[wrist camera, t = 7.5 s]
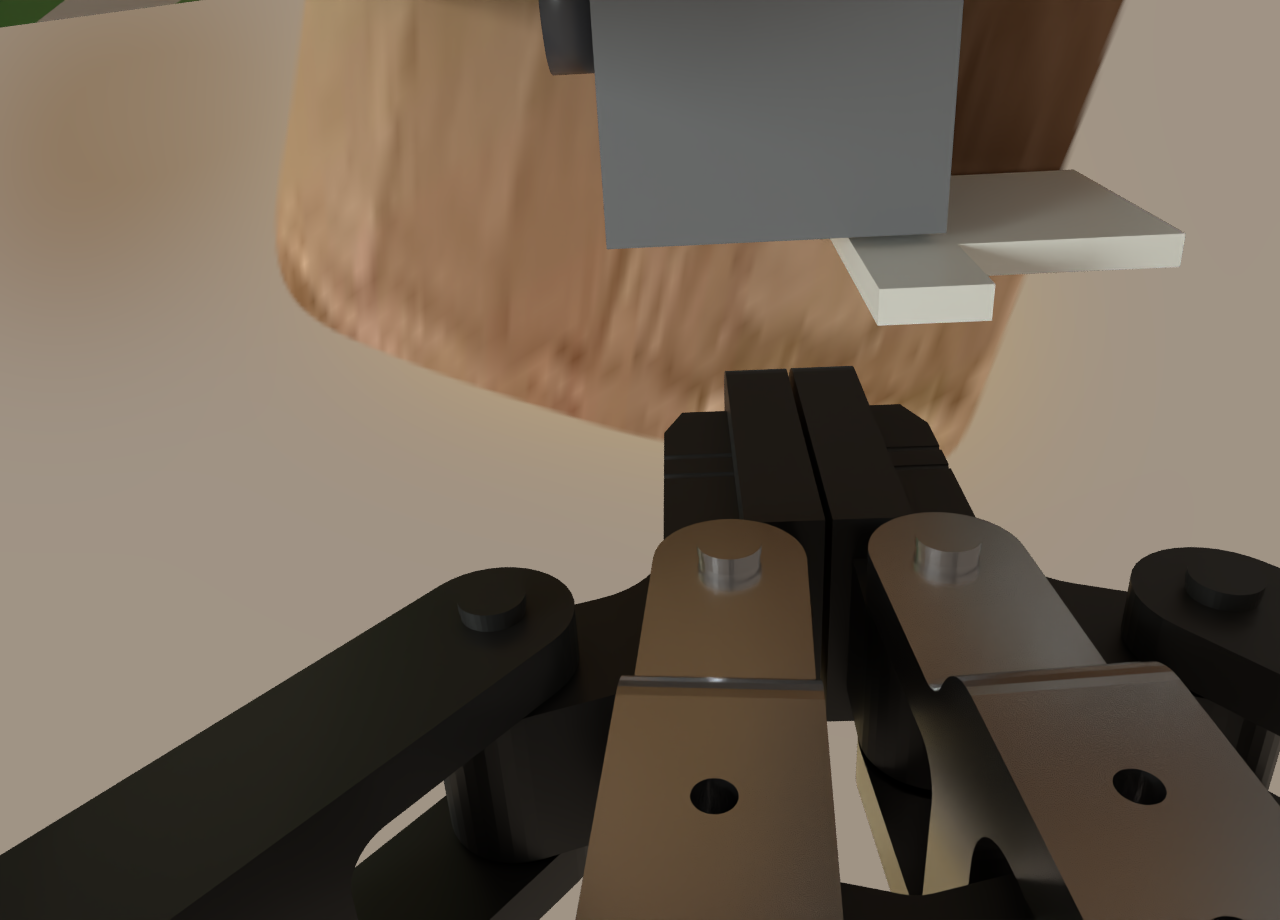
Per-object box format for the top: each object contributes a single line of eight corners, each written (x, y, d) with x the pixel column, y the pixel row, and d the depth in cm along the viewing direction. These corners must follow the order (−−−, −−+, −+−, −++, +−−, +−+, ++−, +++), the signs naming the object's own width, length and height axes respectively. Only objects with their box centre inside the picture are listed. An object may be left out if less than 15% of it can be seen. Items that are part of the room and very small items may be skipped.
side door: (814, 182, 40) (879, 289, 28) (1073, 169, 39) (1254, 271, 27) (813, 211, 40) (877, 329, 28) (1069, 199, 40) (1245, 312, 28)
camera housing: (549, -183, 35) (505, -228, 26) (900, -206, 35) (991, -261, 25) (578, 183, 41) (550, 260, 31) (883, 168, 40) (953, 241, 30)
